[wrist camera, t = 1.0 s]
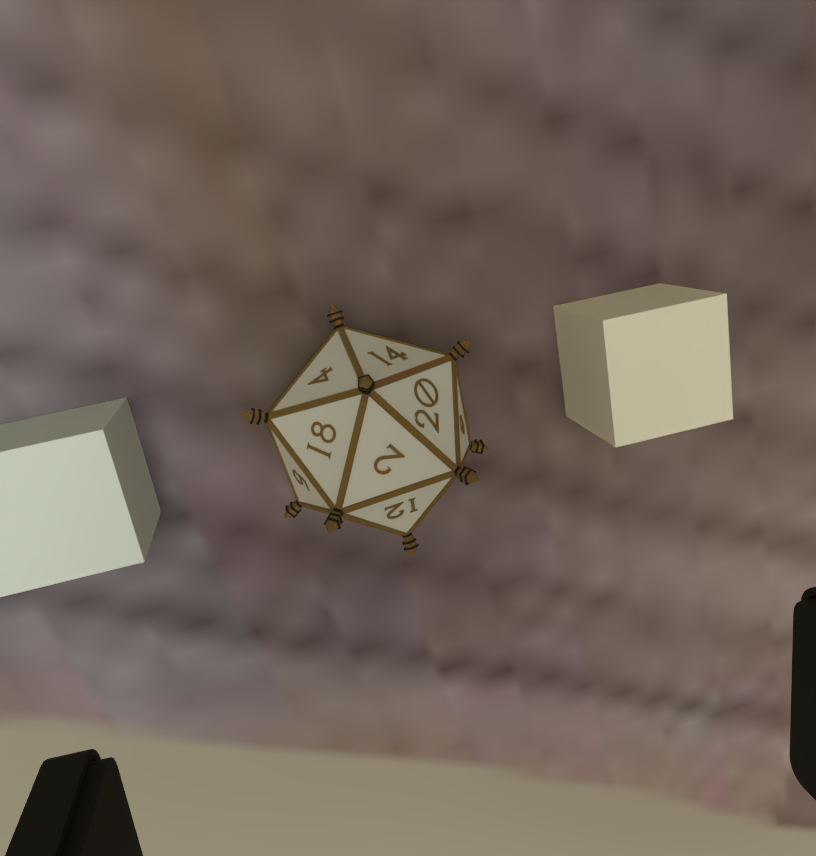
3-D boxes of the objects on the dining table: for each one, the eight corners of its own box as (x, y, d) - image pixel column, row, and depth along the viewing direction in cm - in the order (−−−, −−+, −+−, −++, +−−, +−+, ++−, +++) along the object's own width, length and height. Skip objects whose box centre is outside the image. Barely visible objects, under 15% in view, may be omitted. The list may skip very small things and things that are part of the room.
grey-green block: (127, 397, 30) (102, 429, 25) (161, 511, 32) (144, 562, 27) (-3, 424, 29) (-54, 463, 25) (38, 540, 31) (-2, 597, 26)
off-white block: (659, 283, 33) (726, 293, 28) (667, 391, 35) (733, 418, 30) (552, 306, 32) (602, 320, 28) (565, 415, 34) (615, 447, 29)
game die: (321, 357, 35) (284, 227, 25) (500, 405, 34) (532, 289, 24) (252, 542, 32) (182, 472, 22) (447, 600, 31) (458, 554, 22)
